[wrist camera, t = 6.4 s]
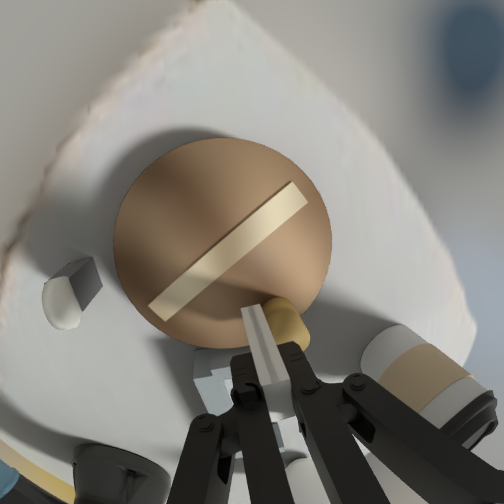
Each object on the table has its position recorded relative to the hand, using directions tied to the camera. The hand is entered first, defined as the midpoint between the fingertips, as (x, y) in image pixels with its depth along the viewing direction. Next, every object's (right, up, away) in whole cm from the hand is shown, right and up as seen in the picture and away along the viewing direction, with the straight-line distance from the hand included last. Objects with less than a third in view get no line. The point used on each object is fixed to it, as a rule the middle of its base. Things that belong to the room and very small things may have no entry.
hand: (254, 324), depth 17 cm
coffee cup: (+14, -6, +9) cm, 18 cm away
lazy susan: (-2, +5, +3) cm, 6 cm away
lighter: (-13, +3, +2) cm, 13 cm away
